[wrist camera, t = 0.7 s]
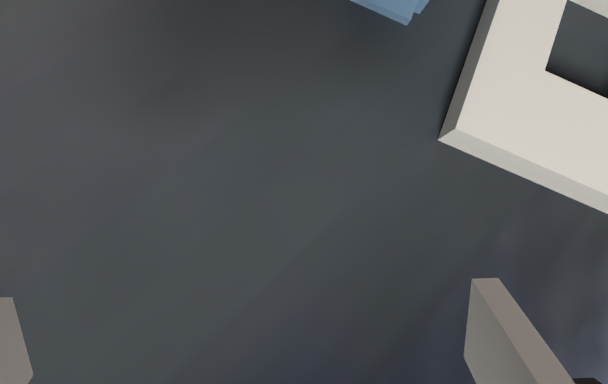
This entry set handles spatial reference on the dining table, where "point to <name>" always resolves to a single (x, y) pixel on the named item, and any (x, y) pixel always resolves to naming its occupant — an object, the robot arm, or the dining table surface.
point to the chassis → (530, 104)
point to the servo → (395, 8)
